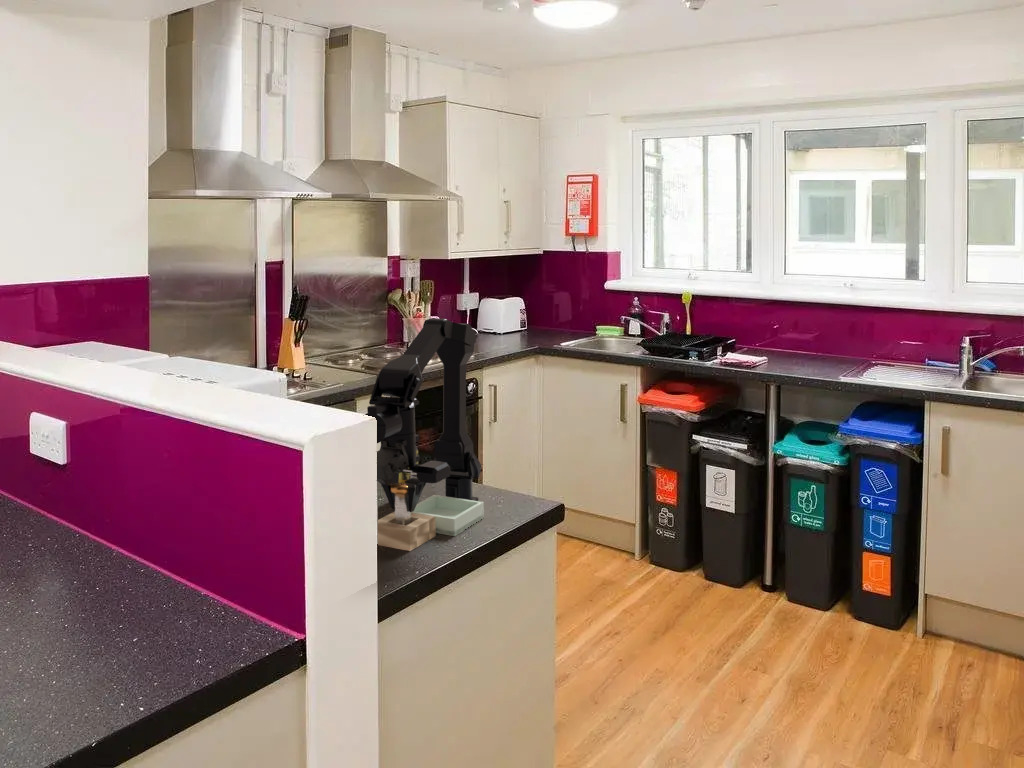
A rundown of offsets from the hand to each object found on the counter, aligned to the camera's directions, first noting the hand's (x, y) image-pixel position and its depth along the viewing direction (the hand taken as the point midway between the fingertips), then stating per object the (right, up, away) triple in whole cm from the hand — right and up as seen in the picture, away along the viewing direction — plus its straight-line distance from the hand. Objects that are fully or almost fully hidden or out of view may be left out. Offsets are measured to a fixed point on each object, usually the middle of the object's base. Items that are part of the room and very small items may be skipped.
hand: (402, 510), depth 172 cm
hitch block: (0, -6, +1) cm, 6 cm away
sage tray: (+7, -4, +11) cm, 14 cm away
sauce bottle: (-3, -2, +24) cm, 25 cm away
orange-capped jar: (0, -6, +1) cm, 6 cm away
